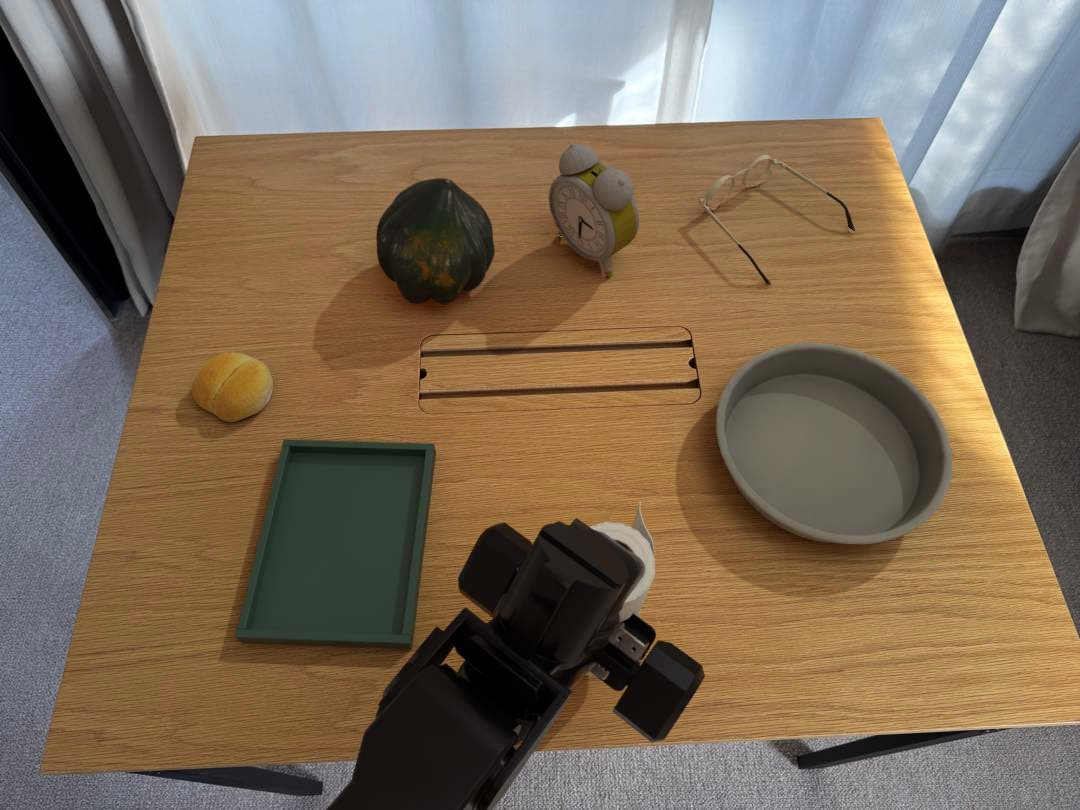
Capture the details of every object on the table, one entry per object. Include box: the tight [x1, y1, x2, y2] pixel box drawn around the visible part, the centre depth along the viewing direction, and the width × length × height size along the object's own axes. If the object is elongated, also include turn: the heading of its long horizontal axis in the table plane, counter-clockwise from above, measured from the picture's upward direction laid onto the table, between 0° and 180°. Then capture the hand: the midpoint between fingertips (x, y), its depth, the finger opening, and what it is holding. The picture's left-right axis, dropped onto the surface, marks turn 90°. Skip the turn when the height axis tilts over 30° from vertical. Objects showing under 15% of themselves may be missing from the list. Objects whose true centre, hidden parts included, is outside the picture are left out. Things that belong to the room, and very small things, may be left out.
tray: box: [234, 439, 437, 650], centre depth 79 cm, size 22×17×2 cm
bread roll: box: [191, 351, 274, 423], centre depth 88 cm, size 8×9×4 cm
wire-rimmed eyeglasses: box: [697, 154, 856, 286], centre depth 102 cm, size 17×15×5 cm
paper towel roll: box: [585, 500, 656, 677], centre depth 62 cm, size 7×6×21 cm
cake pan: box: [715, 342, 953, 545], centre depth 83 cm, size 25×25×4 cm
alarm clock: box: [548, 143, 640, 278], centre depth 95 cm, size 12×7×15 cm, turn 41°
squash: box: [375, 177, 496, 306], centre depth 94 cm, size 14×15×15 cm
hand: (613, 592), depth 63 cm, fingers closed on paper towel roll, 3 cm apart
